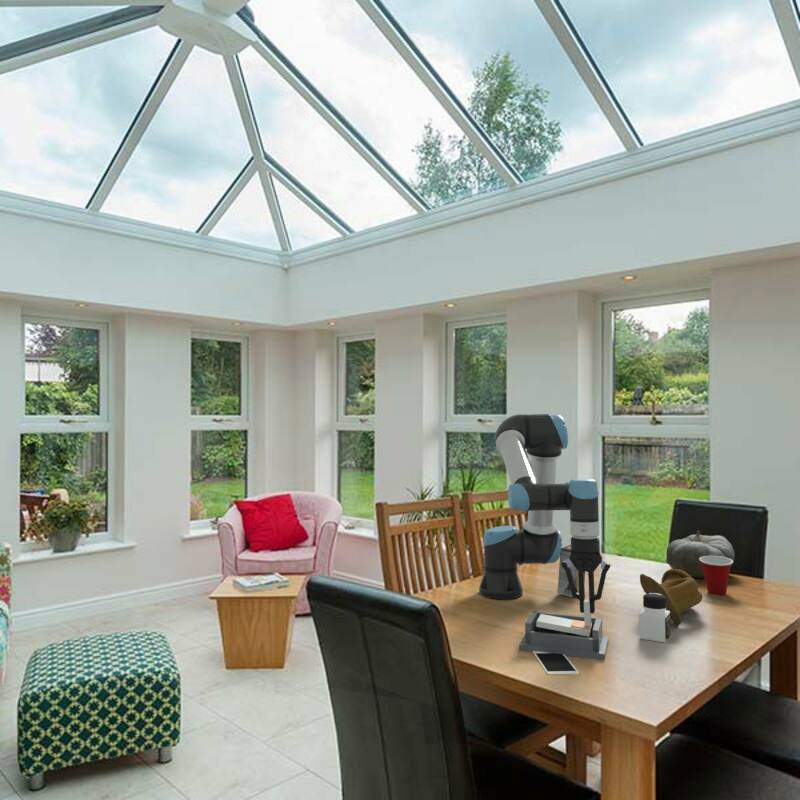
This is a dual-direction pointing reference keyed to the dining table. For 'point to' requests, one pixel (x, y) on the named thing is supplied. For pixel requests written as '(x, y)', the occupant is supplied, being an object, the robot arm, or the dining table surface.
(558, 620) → the rocker
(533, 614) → the box
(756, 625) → the dining table surface
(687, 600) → the brown cowboy hat
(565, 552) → the coffee box
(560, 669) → the cell phone
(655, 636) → the medicine bottle
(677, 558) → the gourd
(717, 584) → the plastic cup
